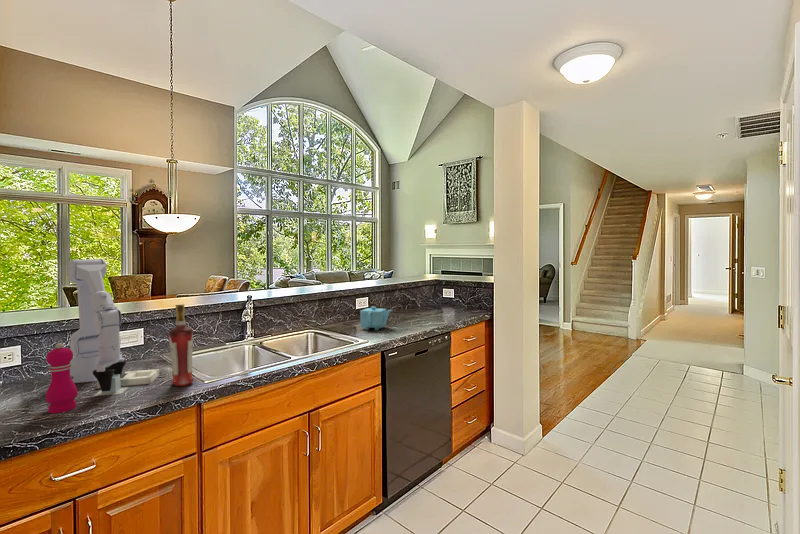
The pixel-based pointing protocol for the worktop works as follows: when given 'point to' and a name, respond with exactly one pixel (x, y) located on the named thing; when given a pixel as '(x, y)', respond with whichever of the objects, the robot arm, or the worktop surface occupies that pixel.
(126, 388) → the mat
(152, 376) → the white tray
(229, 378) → the worktop surface
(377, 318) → the teapot
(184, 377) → the liquor
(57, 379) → the pepper mill
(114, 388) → the plug
